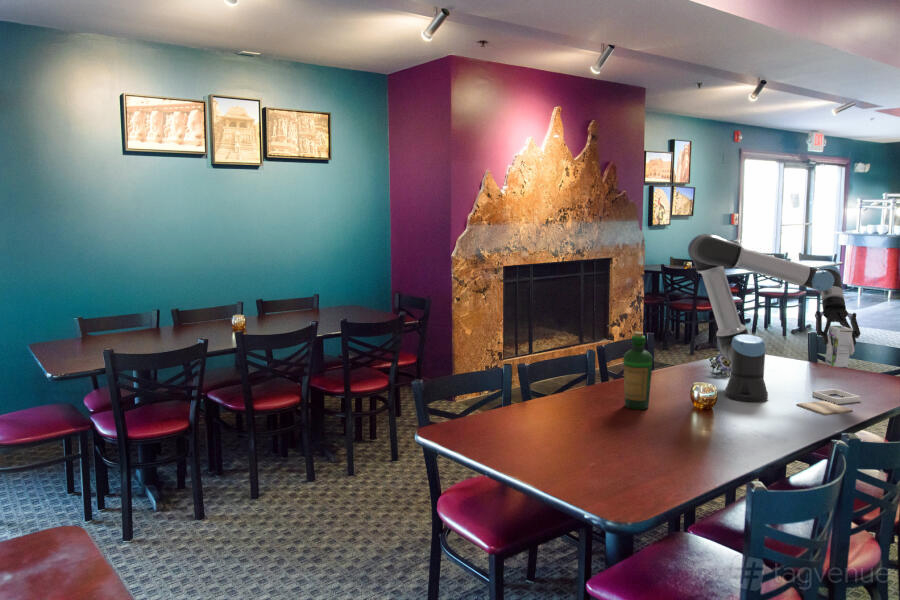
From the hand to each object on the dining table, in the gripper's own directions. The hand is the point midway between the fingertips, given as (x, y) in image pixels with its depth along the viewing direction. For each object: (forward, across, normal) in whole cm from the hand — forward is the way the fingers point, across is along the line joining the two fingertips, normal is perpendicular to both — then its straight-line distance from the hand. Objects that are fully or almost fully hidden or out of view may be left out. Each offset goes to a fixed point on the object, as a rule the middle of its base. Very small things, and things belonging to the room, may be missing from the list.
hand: (841, 351), depth 233 cm
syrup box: (+2, 0, -7) cm, 7 cm away
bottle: (+30, +70, -1) cm, 77 cm away
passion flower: (-12, +35, -43) cm, 57 cm away
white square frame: (+8, -2, -20) cm, 22 cm away
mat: (+18, +5, -10) cm, 22 cm away
